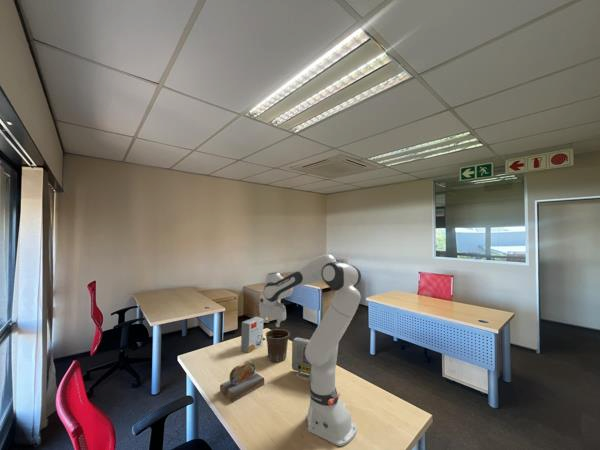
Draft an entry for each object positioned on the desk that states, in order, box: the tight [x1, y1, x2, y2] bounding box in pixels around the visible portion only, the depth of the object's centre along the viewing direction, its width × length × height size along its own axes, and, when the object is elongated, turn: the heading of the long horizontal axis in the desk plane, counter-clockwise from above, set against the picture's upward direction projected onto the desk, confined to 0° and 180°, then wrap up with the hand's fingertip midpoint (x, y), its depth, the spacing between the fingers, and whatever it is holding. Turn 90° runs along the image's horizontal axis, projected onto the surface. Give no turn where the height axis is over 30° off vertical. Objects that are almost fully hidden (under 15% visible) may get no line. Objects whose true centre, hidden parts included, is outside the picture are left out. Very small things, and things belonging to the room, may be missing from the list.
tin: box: [229, 361, 256, 385], centre depth 134 cm, size 15×3×8 cm, turn 137°
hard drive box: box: [240, 316, 264, 353], centre depth 181 cm, size 16×8×20 cm, turn 147°
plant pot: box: [265, 328, 290, 363], centre depth 167 cm, size 16×16×16 cm
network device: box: [291, 337, 312, 382], centre depth 145 cm, size 26×9×20 cm, turn 65°
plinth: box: [219, 372, 265, 403], centre depth 134 cm, size 12×20×4 cm, turn 137°
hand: (272, 324), depth 143 cm, fingers open, 8 cm apart
